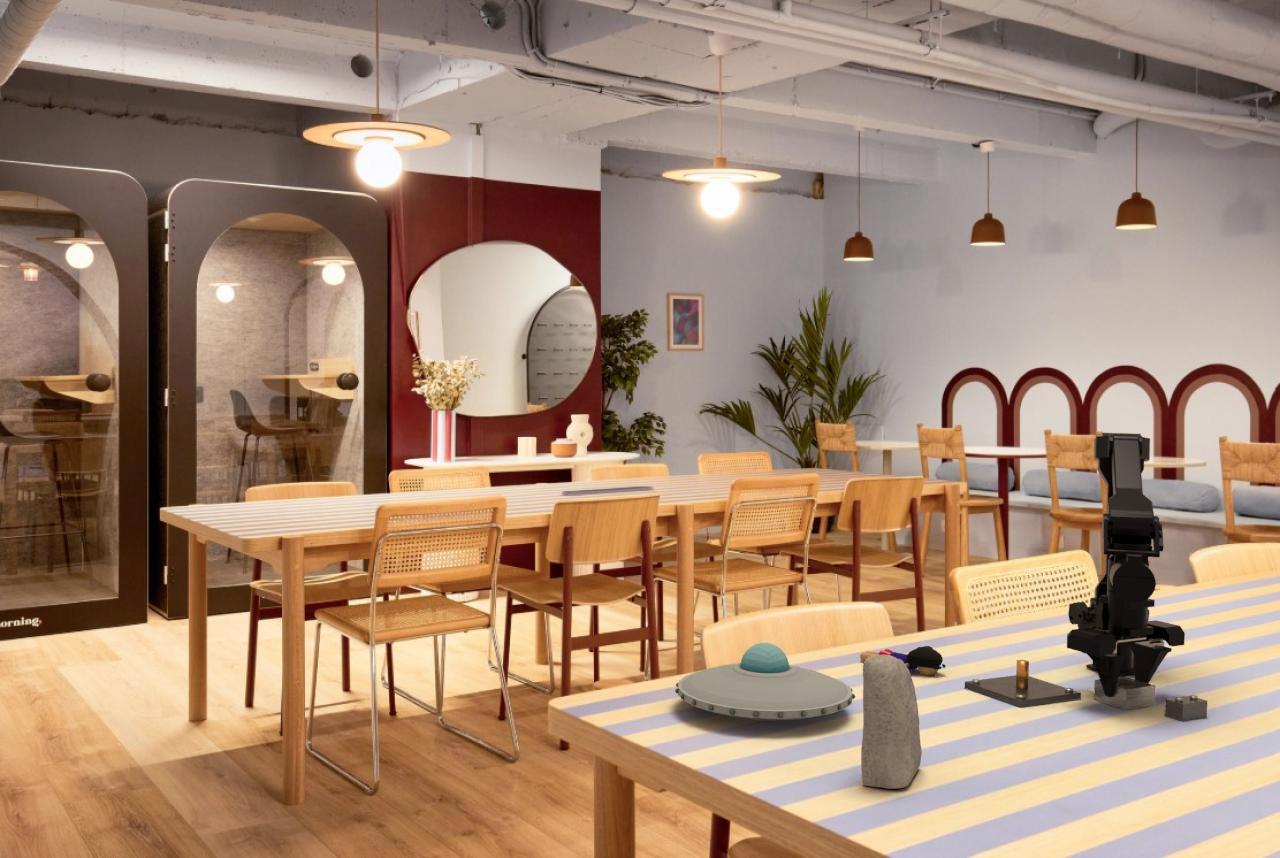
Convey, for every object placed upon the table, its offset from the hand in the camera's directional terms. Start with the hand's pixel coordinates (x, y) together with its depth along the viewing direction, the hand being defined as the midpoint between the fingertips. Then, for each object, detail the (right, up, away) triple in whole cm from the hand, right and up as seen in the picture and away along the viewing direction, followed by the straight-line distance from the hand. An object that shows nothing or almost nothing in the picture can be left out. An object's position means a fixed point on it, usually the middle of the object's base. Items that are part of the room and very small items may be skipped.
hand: (1124, 694), depth 181 cm
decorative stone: (-42, -2, -35) cm, 55 cm away
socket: (0, -1, 0) cm, 1 cm away
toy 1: (-55, -1, -8) cm, 55 cm away
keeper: (-14, -1, +4) cm, 15 cm away
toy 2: (-29, 0, +19) cm, 35 cm away
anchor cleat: (+6, -2, -7) cm, 9 cm away
